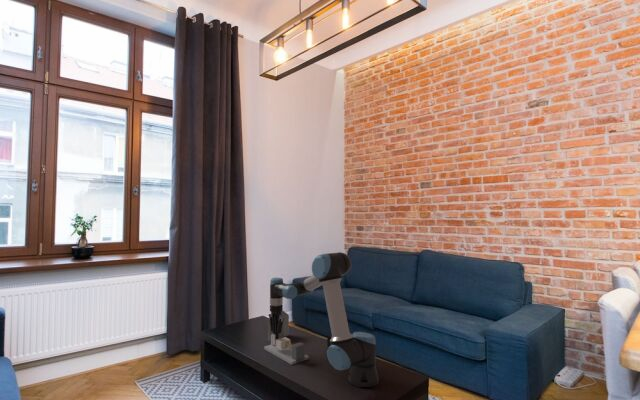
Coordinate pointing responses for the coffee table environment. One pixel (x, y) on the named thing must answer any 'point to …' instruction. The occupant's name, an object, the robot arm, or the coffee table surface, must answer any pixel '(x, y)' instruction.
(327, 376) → the coffee table surface
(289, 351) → the light grey blocky piece
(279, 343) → the sleeve
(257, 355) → the coffee table surface
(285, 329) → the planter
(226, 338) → the coffee table surface
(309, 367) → the coffee table surface
